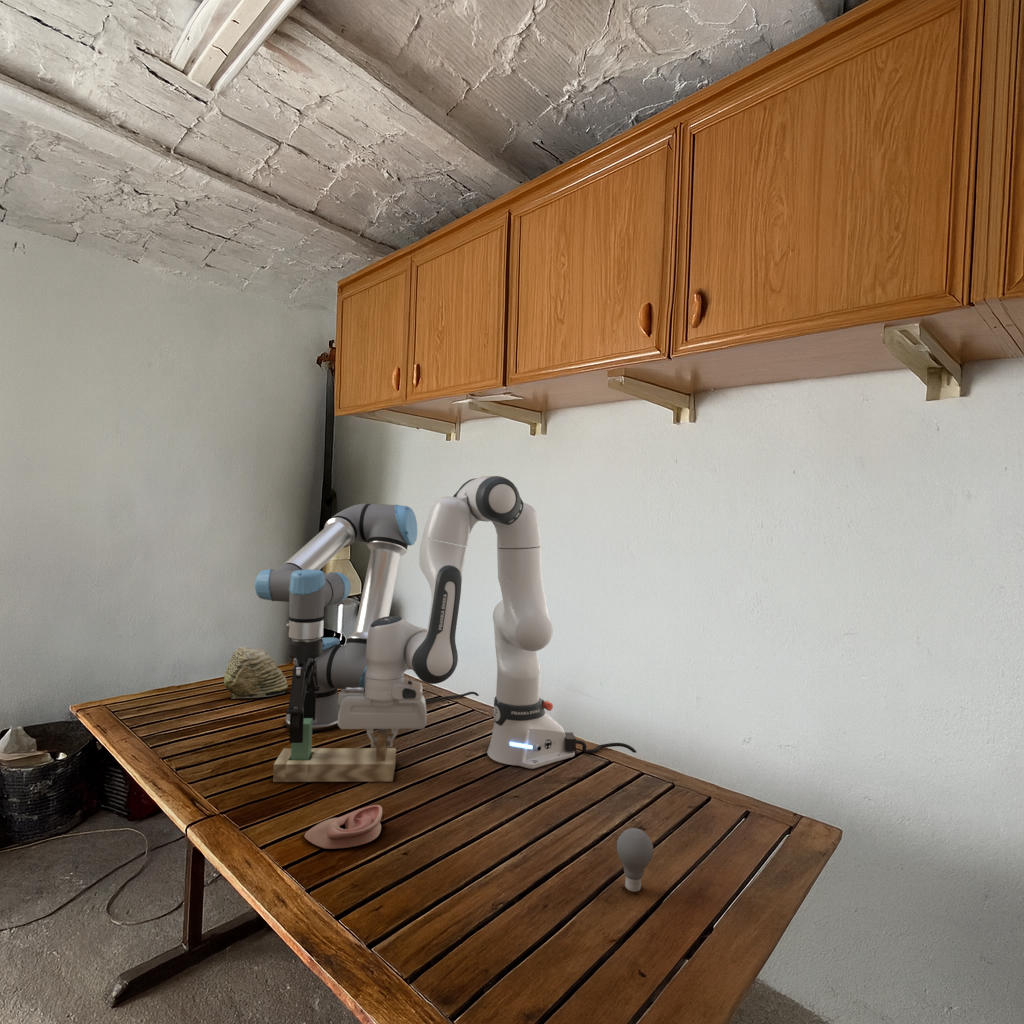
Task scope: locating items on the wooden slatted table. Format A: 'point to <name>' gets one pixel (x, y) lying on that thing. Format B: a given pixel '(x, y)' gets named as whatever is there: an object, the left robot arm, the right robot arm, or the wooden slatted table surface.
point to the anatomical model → (347, 829)
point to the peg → (303, 743)
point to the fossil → (253, 675)
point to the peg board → (339, 764)
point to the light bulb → (634, 856)
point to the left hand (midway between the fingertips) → (303, 730)
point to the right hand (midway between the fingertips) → (382, 746)
